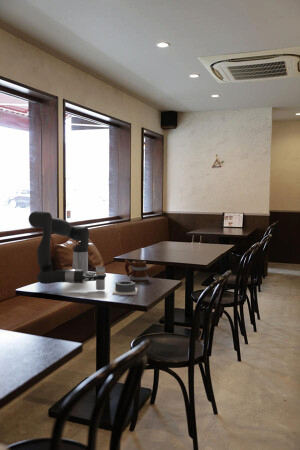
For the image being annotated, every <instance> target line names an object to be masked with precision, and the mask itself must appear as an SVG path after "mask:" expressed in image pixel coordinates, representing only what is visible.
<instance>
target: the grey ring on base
mask: <svg viewBox="0 0 300 450" xmlns="http://www.w3.org/2000/svg"><path fill="white" fill-rule="evenodd" d="M114 284H115V287H114V288H113V291H112V295H119V296H120V295H121V296H122V295H125V296H126V295H127V296H128V295H129V296H130V295H132V296H137V294H138V287H136V282H133V281H131V280H119V281H115V283H114Z"/></svg>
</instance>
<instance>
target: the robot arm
mask: <svg viewBox="0 0 300 450" xmlns="http://www.w3.org/2000/svg"><path fill="white" fill-rule="evenodd" d="M28 223H29V225H30V226H31V227H32V228H35V229H42V237H41V239H40V242H39V244H38V246H37V249H36V259H37V261H36V262H37V265H38V266H39V272H38V273H37V276H36V280H37V281H38V282H39V283H40V284H43V285H46V284H56V283H67V284H83V283H84V282H96V280H104V279H105V280H106V277H107V274H106V273H105V276H102V275H96V271H89V266H88V264H89V262H88V261H89V253H88V252H89V251H88V250H89V243H90V241H89V240H90V230H89V228H88V227H87V226H81V225H79V226H78V225H77V226H76V225H71V223H70V222H68V221H67V220H65V219H62V218H58V217H53V216H52V214H51V212H49V211H41V210H40V211H39V210H37V211H36V210H35V211H32V212H31V213H30V214H29V216H28ZM52 234H55V235H57V236H58V235H59V236H61V237H67V238H69V239H70V240H73V241H77V242H79V244H77V245H75V246H73V248H72V266H71V267H72V269H71V268H70V269H69V268H68V269H57V270H54V271H53V268H52V262H51V261H52V260H51V239H52Z"/></svg>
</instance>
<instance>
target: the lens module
mask: <svg viewBox="0 0 300 450" xmlns="http://www.w3.org/2000/svg"><path fill="white" fill-rule="evenodd" d="M95 272H96V274H95V275H102V276H105V274H106V267H104V266H97V267H95ZM105 285H106V278H105V279H104V280H96V281H95V290H97V291H104V290H105V289H106V286H105Z"/></svg>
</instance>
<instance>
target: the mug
mask: <svg viewBox="0 0 300 450" xmlns="http://www.w3.org/2000/svg"><path fill="white" fill-rule="evenodd" d="M124 262H125V265H124V269H125V272H126V276H127V277H129V279H130V281H135V283H144V281H145V282H147V281H148V280H149V276H148V268H149V267H148V266H147V261H145V260H133V261H132V262H130V261H129V260H128V259H125V260H124ZM130 269H131V271H130Z"/></svg>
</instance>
